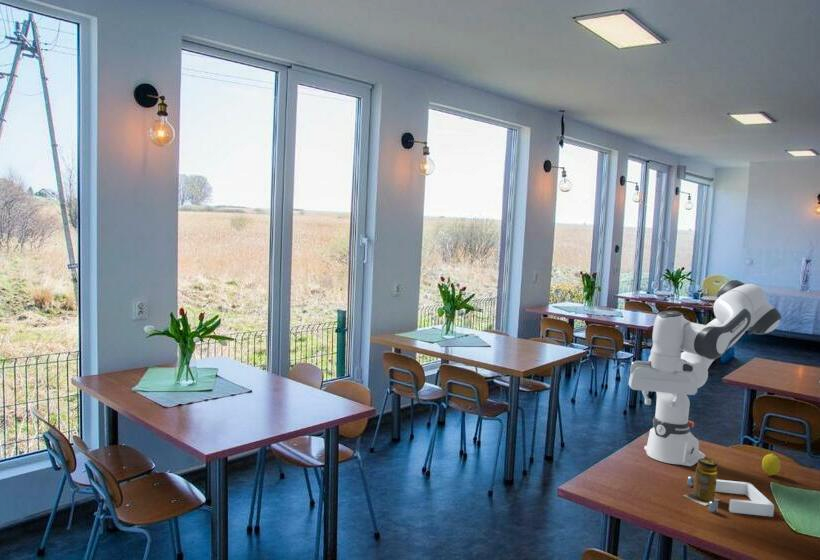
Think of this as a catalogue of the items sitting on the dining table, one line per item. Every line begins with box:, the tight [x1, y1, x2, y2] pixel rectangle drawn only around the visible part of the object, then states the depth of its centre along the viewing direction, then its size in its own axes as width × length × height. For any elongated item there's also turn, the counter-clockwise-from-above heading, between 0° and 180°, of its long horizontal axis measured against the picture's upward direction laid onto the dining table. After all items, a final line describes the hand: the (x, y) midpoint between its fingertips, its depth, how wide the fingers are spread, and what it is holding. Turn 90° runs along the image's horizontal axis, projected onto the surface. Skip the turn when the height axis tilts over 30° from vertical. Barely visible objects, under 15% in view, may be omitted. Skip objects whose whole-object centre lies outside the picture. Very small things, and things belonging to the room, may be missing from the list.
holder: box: [715, 478, 775, 518], centre depth 187 cm, size 12×16×4 cm
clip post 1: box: [686, 475, 695, 489], centre depth 197 cm, size 2×2×3 cm
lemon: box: [761, 452, 781, 477], centre depth 210 cm, size 6×6×8 cm
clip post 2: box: [707, 500, 719, 515], centre depth 179 cm, size 2×2×3 cm
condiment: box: [682, 458, 720, 506], centre depth 188 cm, size 7×8×12 cm
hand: (660, 405), depth 191 cm, fingers open, 6 cm apart
